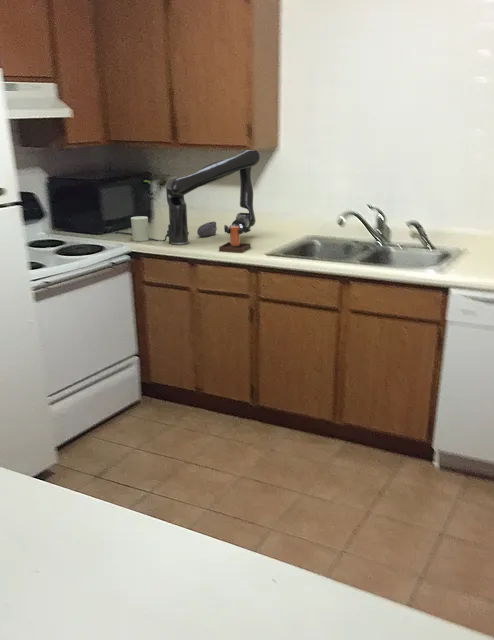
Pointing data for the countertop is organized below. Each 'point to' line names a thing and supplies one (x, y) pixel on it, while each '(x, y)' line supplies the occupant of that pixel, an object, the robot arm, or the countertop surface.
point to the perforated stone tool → (207, 229)
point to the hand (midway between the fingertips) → (233, 231)
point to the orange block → (234, 236)
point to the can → (140, 228)
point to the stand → (235, 247)
